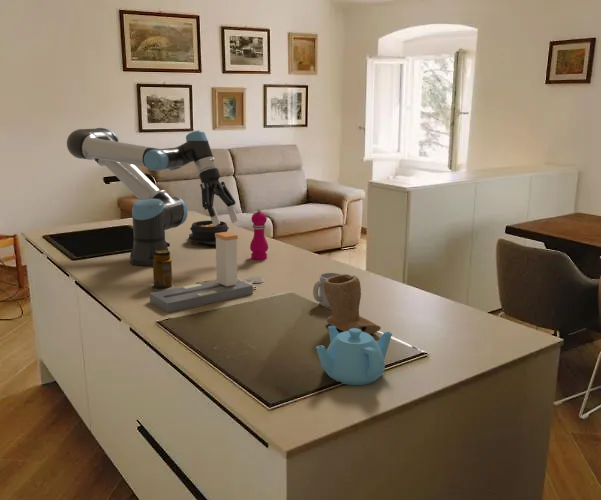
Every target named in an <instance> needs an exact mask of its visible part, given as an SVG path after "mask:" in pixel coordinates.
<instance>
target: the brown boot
mask: <svg viewBox="0 0 601 500" xmlns="http://www.w3.org/2000/svg"><path fill="white" fill-rule="evenodd" d="M324 291H325V295H326V298H327V300H328V302H329V305H330V307H329V308H330V310H331V315H329V316H328V317H326V322H327V323H328V324H329V326H335V327H336V329H338V330H340V332H345V331H349V329H352V328H357V329H360V330H361V332H365V333H368V334H371V333H373V334H376V333H378V332H379V331H381V329H382V328H381V326H380V325H378V324H376V323H374V322H372V321H370V320H369V319H367V318H365V317H362V316H361V315H360V303H361V299H362V298H361V297H362V286H361V281H360V279H359V277H358V276H357V275H355V274H354V275H350V274H346V273H343V274H342V275H336V276H333V277H329V278H327V279H326V280H325V282H324ZM371 335H372V334H371Z"/></svg>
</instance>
